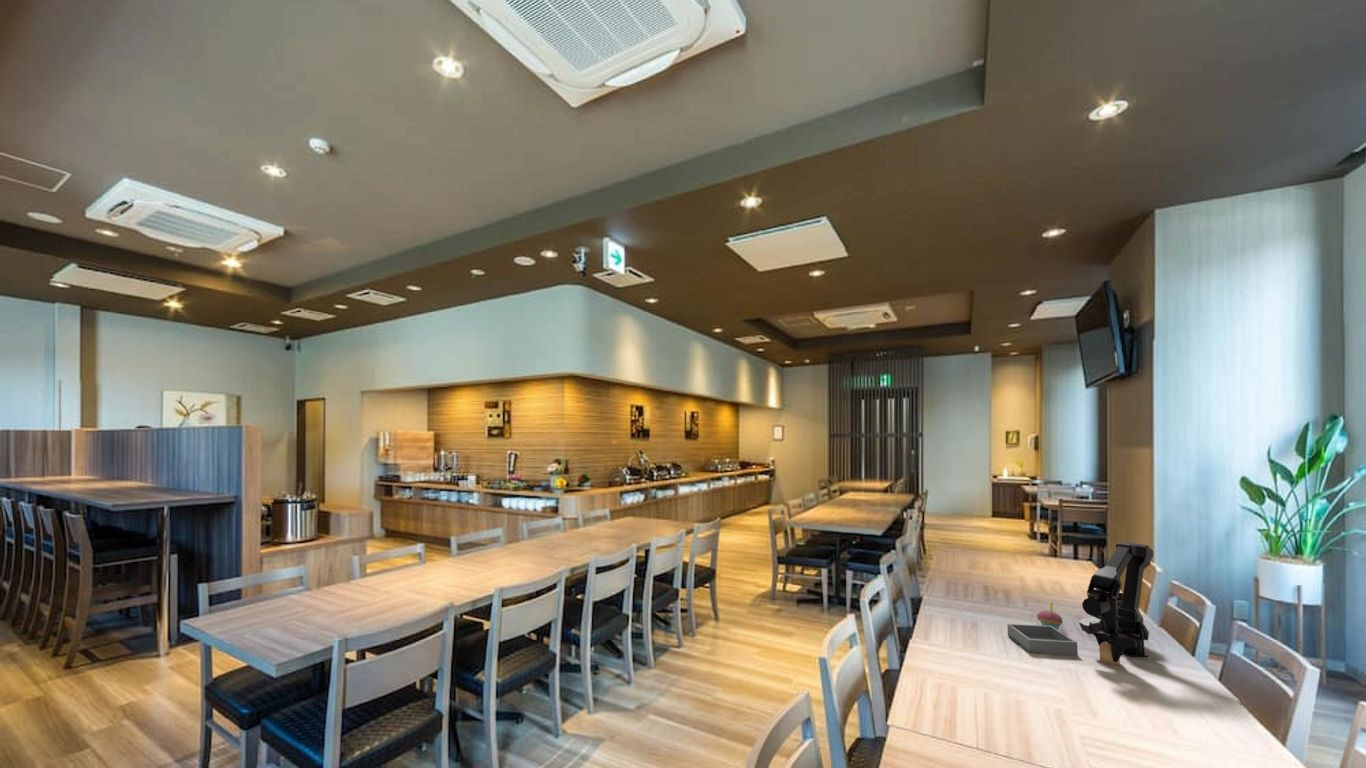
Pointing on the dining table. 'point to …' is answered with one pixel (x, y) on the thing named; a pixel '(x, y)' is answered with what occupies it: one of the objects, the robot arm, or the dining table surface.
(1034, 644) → the bin
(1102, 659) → the tan oval piece
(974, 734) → the dining table surface
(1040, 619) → the cupcake
